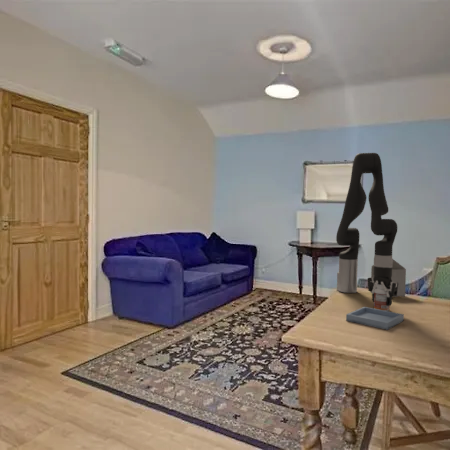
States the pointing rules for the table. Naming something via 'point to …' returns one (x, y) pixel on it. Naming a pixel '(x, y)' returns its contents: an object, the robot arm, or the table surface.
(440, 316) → the table surface
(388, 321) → the tray
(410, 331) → the table surface
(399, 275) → the planter
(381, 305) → the pill bottle
